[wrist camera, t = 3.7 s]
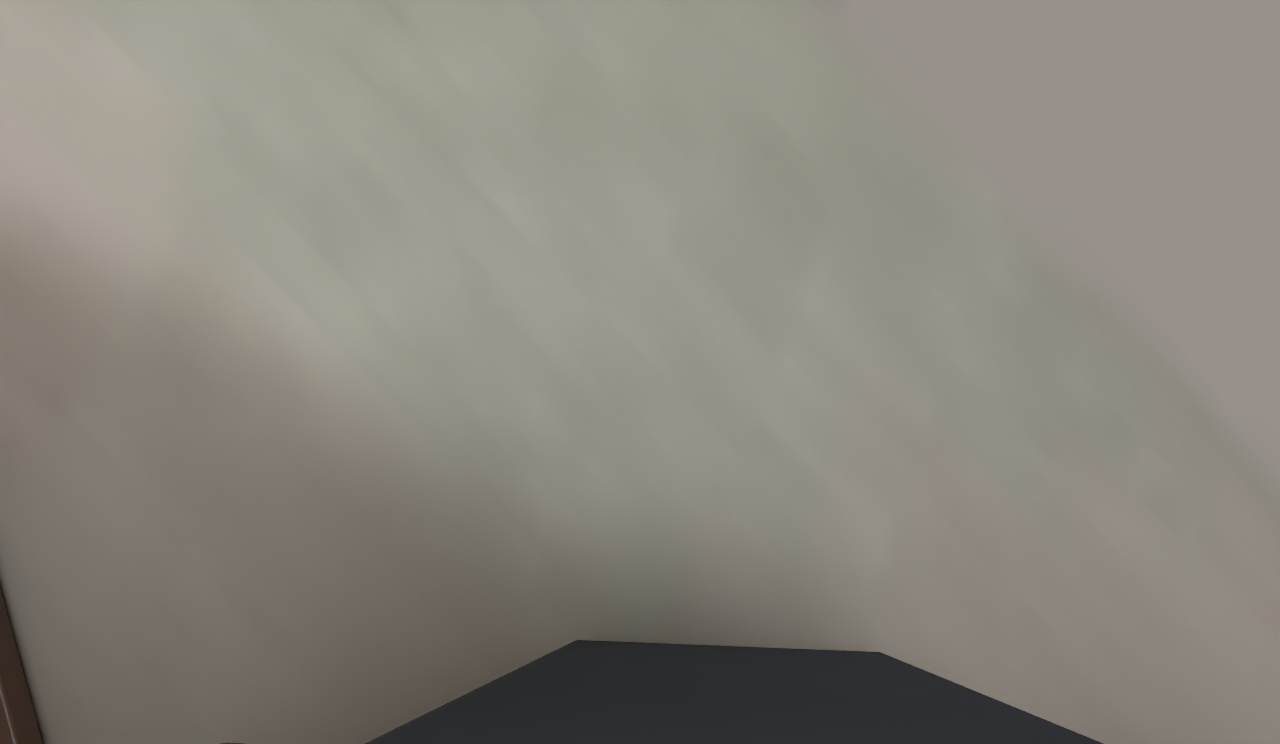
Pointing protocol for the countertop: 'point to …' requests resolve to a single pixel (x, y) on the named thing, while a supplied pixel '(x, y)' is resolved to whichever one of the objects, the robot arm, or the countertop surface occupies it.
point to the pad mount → (14, 691)
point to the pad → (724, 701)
